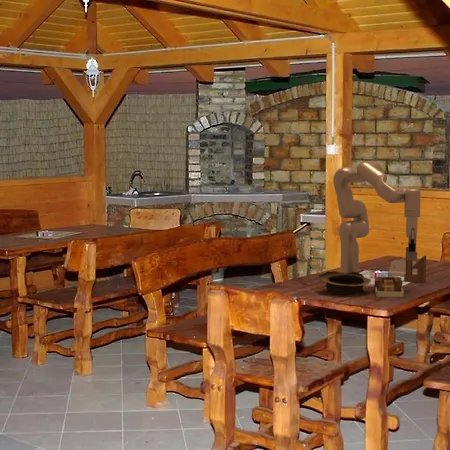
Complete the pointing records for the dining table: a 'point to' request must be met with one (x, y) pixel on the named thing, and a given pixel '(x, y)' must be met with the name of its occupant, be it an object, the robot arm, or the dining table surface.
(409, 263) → the tan angled rod fixture
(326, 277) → the stone bowl
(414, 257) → the square grey bottle
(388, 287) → the birch block
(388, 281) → the oak block
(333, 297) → the dining table surface
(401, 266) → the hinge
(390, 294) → the tray
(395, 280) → the groove board
